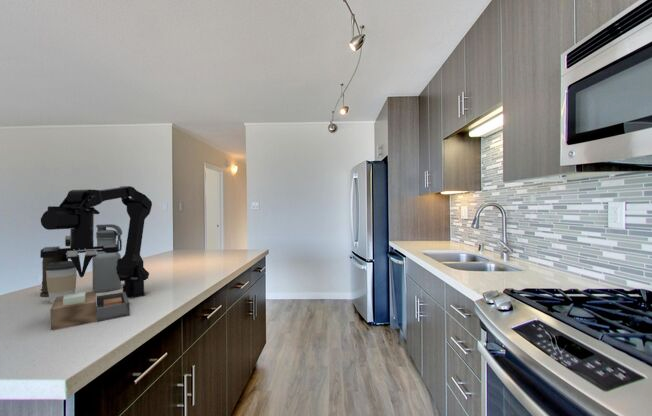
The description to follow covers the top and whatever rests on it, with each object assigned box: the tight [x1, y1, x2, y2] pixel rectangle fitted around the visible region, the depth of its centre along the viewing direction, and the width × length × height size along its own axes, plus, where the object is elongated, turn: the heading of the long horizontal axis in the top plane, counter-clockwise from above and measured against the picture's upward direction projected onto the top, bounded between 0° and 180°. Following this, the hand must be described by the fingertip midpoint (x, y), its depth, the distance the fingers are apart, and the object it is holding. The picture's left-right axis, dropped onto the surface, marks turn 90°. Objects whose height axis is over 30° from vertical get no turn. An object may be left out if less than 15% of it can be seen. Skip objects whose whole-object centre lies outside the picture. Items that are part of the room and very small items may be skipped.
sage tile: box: [63, 291, 87, 306], centre depth 89 cm, size 5×5×2 cm
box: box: [96, 291, 131, 323], centre depth 97 cm, size 8×17×4 cm, turn 38°
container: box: [39, 254, 69, 298], centre depth 119 cm, size 9×9×18 cm
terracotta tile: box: [104, 297, 122, 307], centre depth 100 cm, size 5×5×2 cm
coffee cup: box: [45, 260, 78, 305], centre depth 109 cm, size 9×9×15 cm
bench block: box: [49, 290, 97, 331], centre depth 91 cm, size 10×16×6 cm, turn 38°
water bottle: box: [91, 223, 123, 293], centre depth 125 cm, size 10×10×28 cm
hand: (81, 277), depth 93 cm, fingers closed
